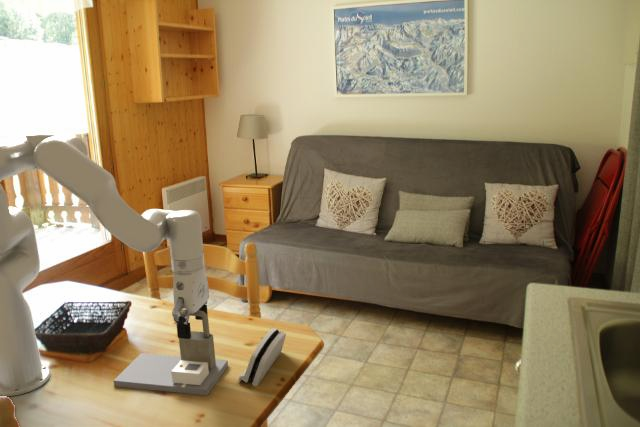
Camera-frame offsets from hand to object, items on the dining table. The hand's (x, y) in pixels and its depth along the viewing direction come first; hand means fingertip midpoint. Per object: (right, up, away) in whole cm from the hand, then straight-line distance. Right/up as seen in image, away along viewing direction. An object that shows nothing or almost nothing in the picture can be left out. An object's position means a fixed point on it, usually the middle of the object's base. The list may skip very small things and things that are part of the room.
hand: (193, 328), depth 135 cm
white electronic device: (0, -11, -3) cm, 12 cm away
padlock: (+1, -10, +3) cm, 10 cm away
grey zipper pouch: (+17, -11, +4) cm, 21 cm away
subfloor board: (-6, -12, +2) cm, 13 cm away
